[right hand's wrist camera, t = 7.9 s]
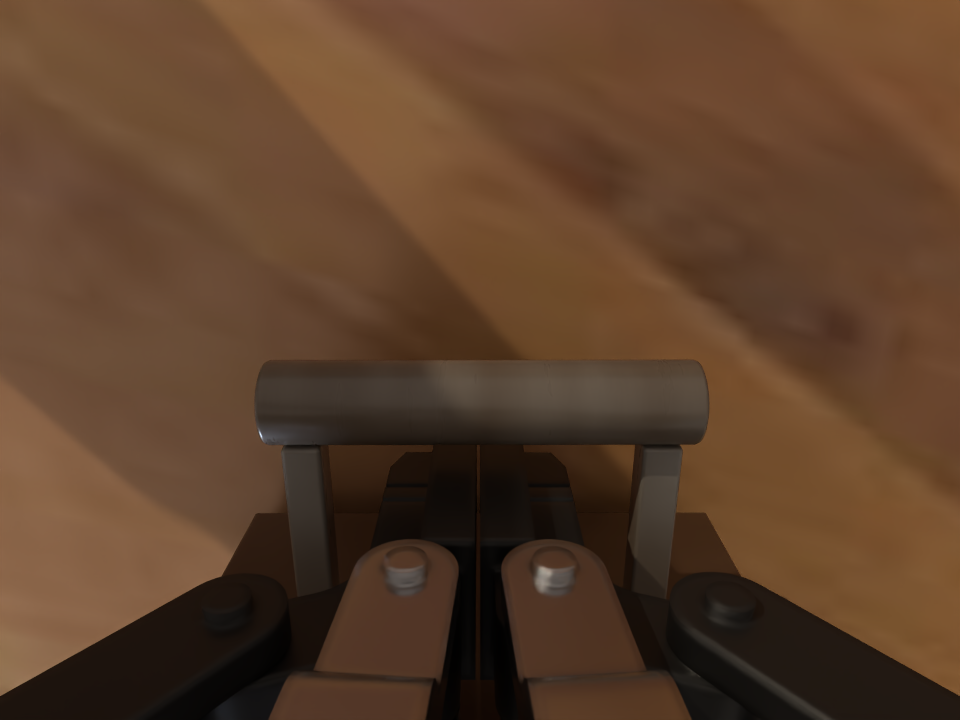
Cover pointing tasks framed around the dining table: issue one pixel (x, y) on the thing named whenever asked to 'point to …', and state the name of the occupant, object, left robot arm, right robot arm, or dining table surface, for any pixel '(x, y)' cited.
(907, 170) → the dining table surface
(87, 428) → the dining table surface
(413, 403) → the drawer
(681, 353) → the dining table surface
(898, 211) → the dining table surface
